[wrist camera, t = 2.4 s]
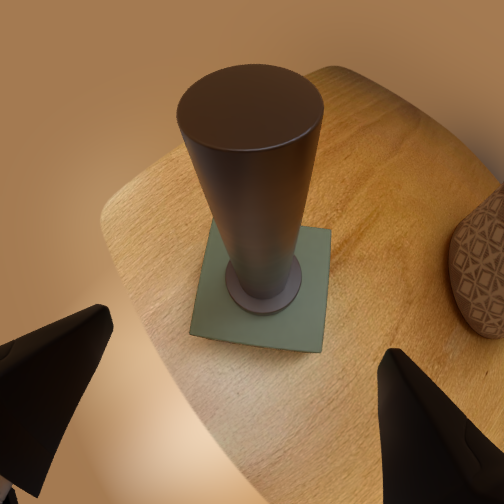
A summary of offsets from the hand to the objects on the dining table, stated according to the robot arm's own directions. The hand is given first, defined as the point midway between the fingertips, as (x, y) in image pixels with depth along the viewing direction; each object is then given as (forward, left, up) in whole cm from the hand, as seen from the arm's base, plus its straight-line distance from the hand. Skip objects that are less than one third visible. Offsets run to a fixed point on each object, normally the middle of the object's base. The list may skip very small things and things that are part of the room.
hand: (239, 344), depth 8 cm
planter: (+16, -17, -13) cm, 27 cm away
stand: (+4, +2, -13) cm, 13 cm away
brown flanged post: (+4, +2, -8) cm, 9 cm away
